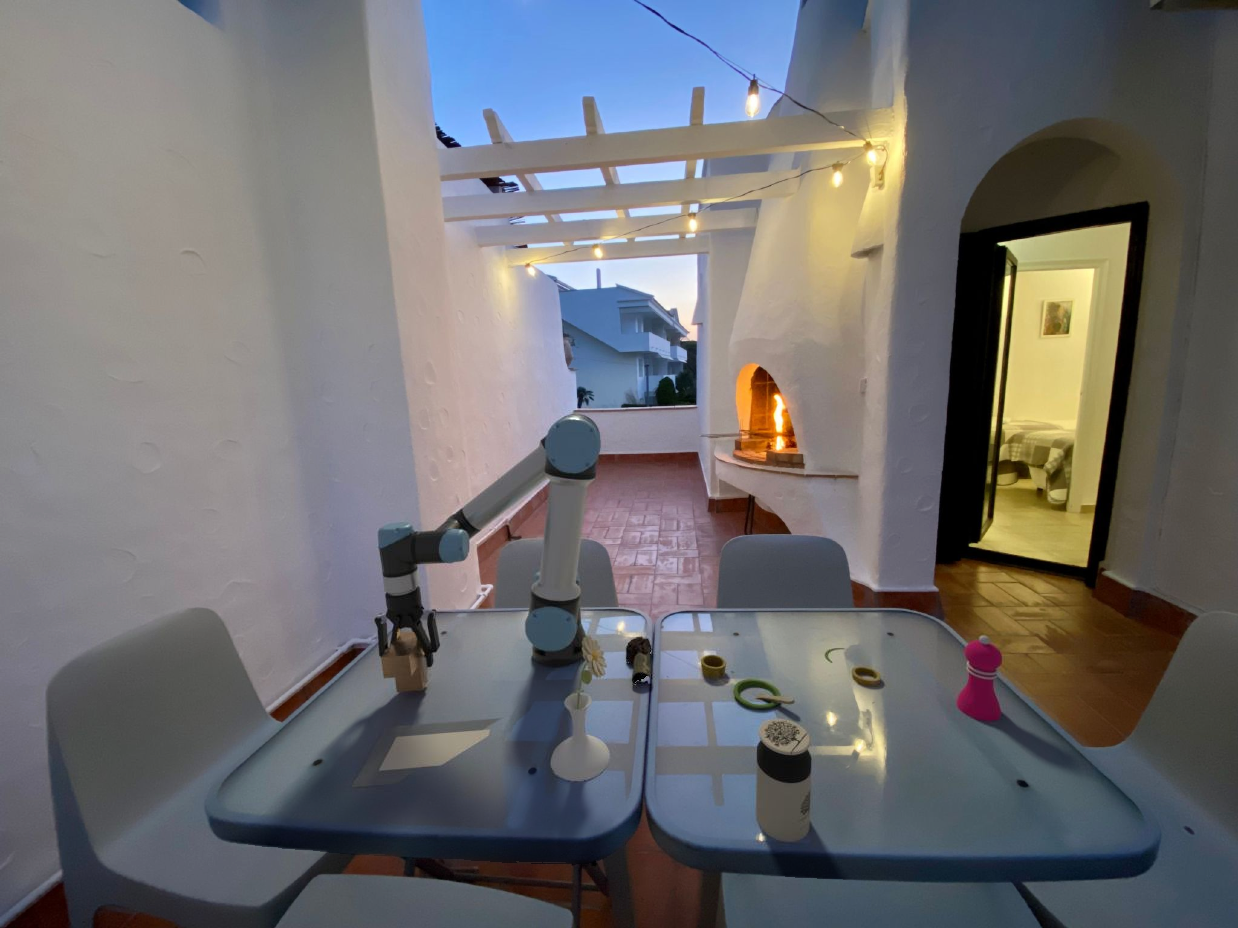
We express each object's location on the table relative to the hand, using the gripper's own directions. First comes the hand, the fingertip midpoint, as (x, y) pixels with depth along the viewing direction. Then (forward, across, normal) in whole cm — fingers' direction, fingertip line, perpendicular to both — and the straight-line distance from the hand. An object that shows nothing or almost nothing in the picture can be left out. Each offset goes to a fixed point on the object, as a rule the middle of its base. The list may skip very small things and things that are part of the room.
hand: (413, 679), depth 118 cm
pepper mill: (+5, -120, +27) cm, 124 cm away
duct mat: (+3, -12, +22) cm, 25 cm away
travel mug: (+4, -72, +47) cm, 86 cm away
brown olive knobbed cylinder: (+6, -54, +4) cm, 55 cm away
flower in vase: (+4, -40, +28) cm, 49 cm away
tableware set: (+5, -89, +9) cm, 90 cm away
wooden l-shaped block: (+1, 0, 0) cm, 1 cm away
